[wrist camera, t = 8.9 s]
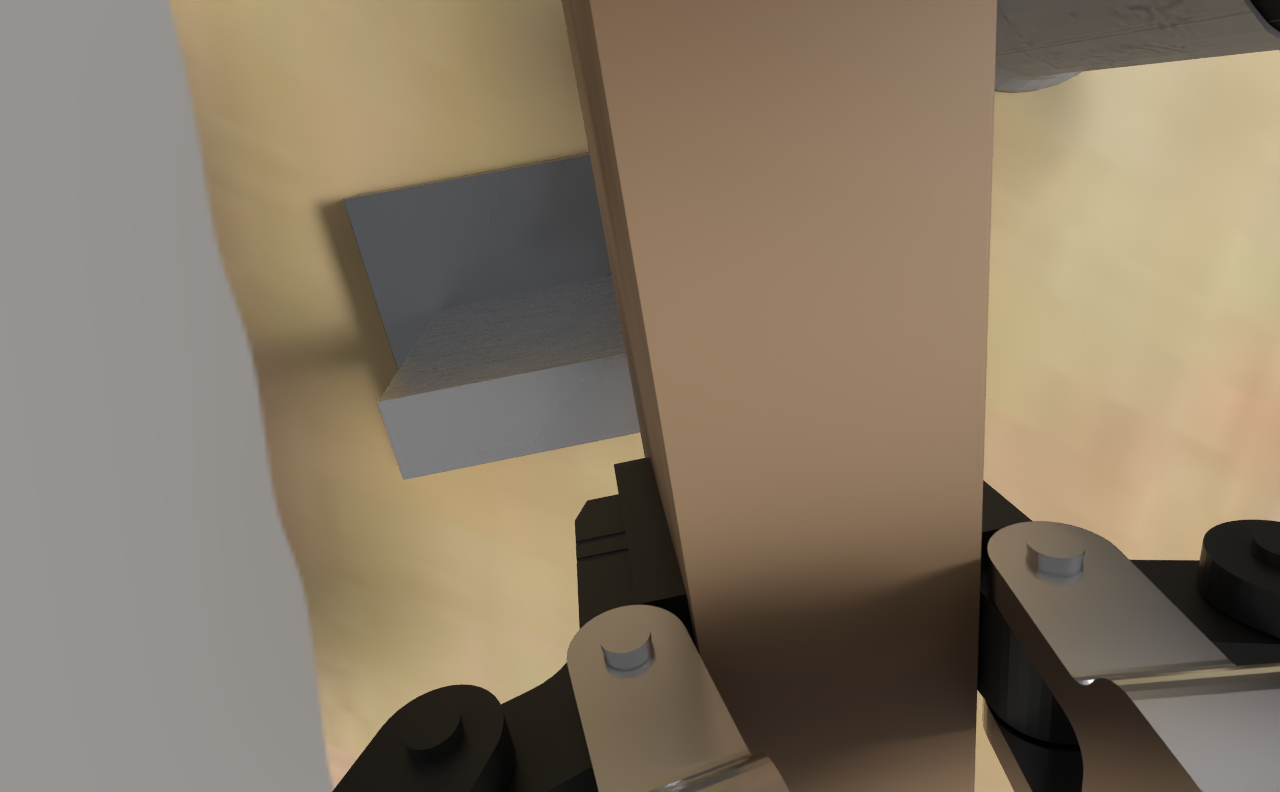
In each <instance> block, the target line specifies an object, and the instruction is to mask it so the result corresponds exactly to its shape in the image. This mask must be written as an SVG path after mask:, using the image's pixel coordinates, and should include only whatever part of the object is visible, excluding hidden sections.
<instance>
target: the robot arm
mask: <svg viewBox="0 0 1280 792" xmlns="http://www.w3.org/2000/svg"><path fill="white" fill-rule="evenodd" d="M614 468H615V474H616V480H617V486H618V492H619V494H617V495H613V496H608V497H603V498H598V499H593V500H588V501H587V502H586V503H585V505H584V507H583V508H582V510H581V512H580V513H579V515H578V517H577V518H576V520H575V534H576V556H577V579H578V601H579V623H580V630H579V631H578V632H577V633H576V635H575V636H574V638H573V639H572V641H571V643H570V645H569V648H568V652H567V663H566V664H565V665H564V666H563V667H562V668H561V669H560V670H559V671H558V672H557V673H556V674H555V675H554V676H553V677H551V678H550V679H548V680H547V681H545V682H544V683H543V684H541V685H539V686H537V687H535V688H534V689H532V690H530V691H528V692H526V693H524V694H522V695H520V696H517V697H515V698H513V699H511V700H509V701H507V702H505V703H503V704H501V705H500V702H499V701H498V700H497V698H496V697H495V696H494V695H493V694H492V693H490V692H489V691H488V690H485V689H483V688H481V687H477V686H473V685H451V686H447V687H442V688H439V689H436V690H433V691H430V692H428V693H425V694H423V695H421V696H419V697H417V698H416V699H414V700H412V701H411V702H409V703H407V704H406V705H405V706H403V707H402V708H401V709H399V710H398V711H397V712H396V713H395V714H394V715H393V716H392V717H390V718H389V719H388V721H387V722H386V723H385V724H384V725H383V726H382V728H381V729H380V730H379V731H378V733H377V734H376V735H375V737H374V738H373V739H372V741H371V742H370V743H369V745H368V746H367V747H366V748H365V750H364V751H363V752H362V754H361V755H360V756H359V758H358V759H357V760H356V761H355V763H354V764H353V765H352V767H351V768H350V769H349V771H348V772H347V773H346V775H345V776H344V777H343V778H342V780H341V781H340V782H339V784H338V785H337V786H336V788H335V789H334V790H333V792H790V791H789V789H788V787H787V785H786V784H785V782H784V780H783V778H782V776H781V775H780V773H779V771H778V769H777V768H776V766H775V765H774V763H773V762H772V761H771V759H770V758H769V757H768V756H767V755H766V754H765V753H759V754H756V755H754V756H752V754H751V753H750V751H749V750H748V748H747V746H746V744H745V742H744V741H743V739H742V737H741V735H740V733H739V731H738V729H737V727H736V725H735V723H734V721H733V719H732V717H731V715H730V713H729V711H728V709H727V707H726V706H725V704H724V702H723V700H722V698H721V696H720V694H719V692H718V690H717V688H716V686H715V684H714V682H713V680H712V678H711V676H710V674H709V672H708V670H707V669H706V667H705V665H704V663H703V661H702V659H701V657H700V655H699V653H698V651H697V649H696V646H695V640H694V634H693V629H692V623H691V617H690V611H689V605H688V599H687V594H686V590H685V586H684V583H683V579H682V575H681V571H680V568H679V564H678V560H677V557H676V553H675V549H674V546H673V542H672V538H671V534H670V531H669V527H668V523H667V520H666V516H665V512H664V508H663V505H662V501H661V497H660V494H659V490H658V486H657V482H656V479H655V475H654V471H653V468H652V464H651V460H650V457H648V458H643V459H638V460H633V461H628V462H623V463H618V464H614ZM977 690H978V691H979V692H980V694H981V695H982V696H983V713H982V721H983V727H984V730H985V732H986V735H987V737H988V739H989V741H990V743H991V745H992V747H993V749H994V751H995V753H996V755H997V757H998V759H999V761H1000V763H1001V765H1002V767H1003V769H1004V771H1005V773H1006V775H1007V777H1008V779H1009V781H1010V783H1011V786H1012V788H1013V790H1014V792H1280V522H1277V521H1268V520H1238V521H1231V522H1226V523H1222V524H1220V525H1217V526H1215V527H1213V528H1212V529H1210V530H1209V531H1208V532H1207V533H1206V534H1205V536H1204V539H1203V545H1202V550H1201V556H1200V561H1194V560H1129V559H1128V558H1127V557H1126V556H1125V555H1124V554H1123V553H1122V552H1121V551H1120V550H1119V549H1118V548H1117V547H1116V546H1114V545H1113V544H1112V543H1111V542H1109V541H1108V540H1106V539H1105V538H1103V537H1101V536H1099V535H1097V534H1095V533H1093V532H1091V531H1088V530H1085V529H1083V528H1079V527H1076V526H1072V525H1068V524H1063V523H1056V522H1046V521H1032V520H1030V519H1029V518H1028V517H1027V516H1026V515H1024V514H1023V513H1022V512H1021V511H1020V510H1018V509H1017V508H1016V507H1015V506H1014V505H1012V504H1011V503H1010V502H1009V501H1008V500H1006V499H1005V498H1004V497H1003V496H1002V495H1000V494H999V493H998V492H997V491H996V490H994V489H993V488H992V487H991V486H990V485H988V484H987V483H986V482H985V481H984V480H983V503H982V538H981V572H980V607H979V641H978V676H977Z"/></svg>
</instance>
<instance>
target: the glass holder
mask: <svg viewBox="0 0 1280 792" xmlns="http://www.w3.org/2000/svg"><path fill="white" fill-rule="evenodd" d="M1271 50H1280V0H997V19H996V54H995V89H994V90H996V91H1005V92H1013V93H1015V92H1026V91H1035V90H1039V89H1042V88H1046V87H1049V86H1053V85H1056V84H1059V83H1061V82H1063V81H1065V80H1067V79H1069V78H1071V77H1073V76H1076V75H1078V74H1079V73H1081V72H1082V71H1090V70H1099V69H1108V68H1117V67H1126V66H1135V65H1145V64H1154V63H1163V62H1172V61H1181V60H1190V59H1199V58H1208V57H1217V56H1226V55H1235V54H1244V53H1253V52H1262V51H1271Z"/></svg>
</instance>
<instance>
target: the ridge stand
mask: <svg viewBox="0 0 1280 792" xmlns="http://www.w3.org/2000/svg"><path fill="white" fill-rule="evenodd" d="M343 200H344V203H345V206H346V209H347V212H348V215H349V219H350V222H351V225H352V228H353V231H354V234H355V237H356V241H357V244H358V247H359V250H360V253H361V256H362V259H363V262H364V266H365V269H366V272H367V275H368V278H369V281H370V284H371V288H372V291H373V294H374V297H375V300H376V303H377V306H378V309H379V313H380V316H381V319H382V322H383V325H384V328H385V331H386V335H387V338H388V341H389V344H390V347H391V350H392V353H393V356H394V360H395V363H396V366H397V369H398V372H397V373H396V375H395V376H394V378H393V379H392V381H391V382H390V384H389V385H388V387H387V388H386V390H385V391H384V393H383V394H382V396H381V397H380V399H379V400H378V402H377V403H378V406H379V409H380V412H381V415H382V418H383V421H384V424H385V427H386V430H387V433H388V436H389V438H390V441H391V444H392V447H393V450H394V453H395V456H396V459H397V462H398V465H399V468H400V471H401V474H402V477H403V480H405V479H410V478H415V477H420V476H425V475H430V474H435V473H440V472H445V471H450V470H455V469H460V468H465V467H469V466H474V465H479V464H484V463H489V462H494V461H499V460H504V459H509V458H514V457H519V456H524V455H529V454H534V453H539V452H544V451H549V450H554V449H559V448H564V447H569V446H574V445H579V444H584V443H589V442H594V441H599V440H604V439H609V438H614V437H619V436H624V435H629V434H634V433H639V432H640V427H639V421H638V416H637V410H636V405H635V400H634V394H633V389H632V383H631V378H630V372H629V367H628V361H627V356H626V350H625V345H624V339H623V334H622V328H621V323H620V317H619V312H618V306H617V301H616V295H615V290H614V284H613V279H612V273H611V268H610V262H609V257H608V251H607V246H606V240H605V235H604V229H603V224H602V218H601V213H600V207H599V202H598V196H597V191H596V185H595V180H594V174H593V169H592V163H591V158H590V153H586V154H581V155H575V156H570V157H565V158H559V159H554V160H548V161H543V162H537V163H532V164H526V165H521V166H515V167H510V168H504V169H499V170H493V171H488V172H483V173H477V174H472V175H466V176H461V177H455V178H450V179H444V180H439V181H433V182H428V183H422V184H417V185H411V186H406V187H401V188H395V189H390V190H384V191H379V192H373V193H368V194H362V195H357V196H352V197H349V198H346V199H343Z"/></svg>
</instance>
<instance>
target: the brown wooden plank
mask: <svg viewBox="0 0 1280 792" xmlns="http://www.w3.org/2000/svg"><path fill="white" fill-rule="evenodd" d="M562 4H563V10H564V15H565V21H566V26H567V32H568V37H569V43H570V48H571V54H572V59H573V65H574V70H575V76H576V81H577V87H578V92H579V98H580V103H581V109H582V114H583V120H584V125H585V131H586V136H587V142H588V147H589V153H590V158H591V163H592V169H593V174H594V180H595V185H596V191H597V196H598V202H599V207H600V213H601V218H602V224H603V229H604V235H605V240H606V246H607V251H608V257H609V262H610V268H611V273H612V279H613V284H614V290H615V295H616V301H617V306H618V312H619V317H620V323H621V328H622V334H623V339H624V345H625V350H626V356H627V361H628V367H629V372H630V378H631V383H632V389H633V394H634V400H635V405H636V410H637V416H638V421H639V427H640V432H641V438H642V443H643V449H644V454H645V458H648V457H650V460H651V464H652V468H653V471H654V475H655V479H656V482H657V486H658V490H659V494H660V497H661V501H662V505H663V508H664V512H665V516H666V520H667V523H668V527H669V531H670V534H671V538H672V542H673V546H674V549H675V553H676V557H677V560H678V564H679V568H680V571H681V575H682V579H683V583H684V586H685V590H686V594H687V599H688V605H689V611H690V617H691V623H692V629H693V634H694V640H695V646H696V649H697V651H698V653H699V655H700V657H701V659H702V661H703V663H704V665H705V667H706V669H707V670H708V672H709V674H710V676H711V678H712V680H713V682H714V684H715V686H716V688H717V690H718V692H719V694H720V696H721V698H722V700H723V702H724V704H725V706H726V707H727V709H728V711H729V713H730V715H731V717H732V719H733V721H734V723H735V725H736V727H737V729H738V731H739V733H740V735H741V737H742V739H743V741H744V742H745V744H746V746H747V748H748V750H749V751H750V753H751V754H752V756H754V755H756V754H759V753H765V754H766V755H767V756H768V757H769V758H770V759H771V761H772V762H773V763H774V765H775V766H776V768H777V769H778V771H779V773H780V775H781V776H782V778H783V780H784V782H785V784H786V785H787V787H788V789H789V791H790V792H974V780H975V745H976V711H977V676H978V641H979V607H980V572H981V538H982V503H983V469H984V434H985V400H986V365H987V330H988V296H989V261H990V227H991V192H992V158H993V123H994V89H995V54H996V19H997V0H562Z"/></svg>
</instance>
